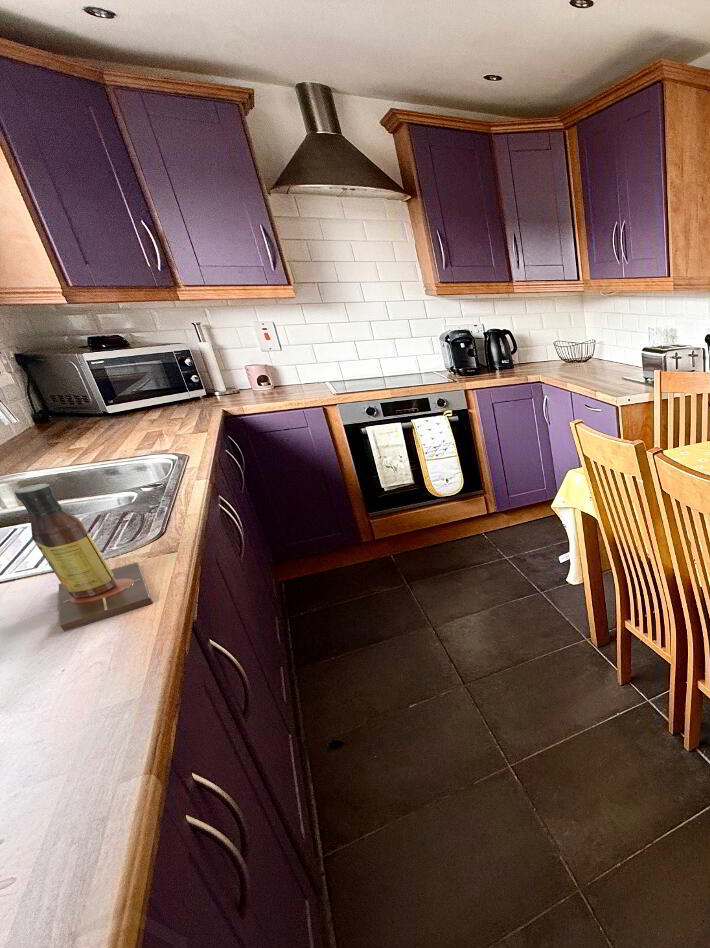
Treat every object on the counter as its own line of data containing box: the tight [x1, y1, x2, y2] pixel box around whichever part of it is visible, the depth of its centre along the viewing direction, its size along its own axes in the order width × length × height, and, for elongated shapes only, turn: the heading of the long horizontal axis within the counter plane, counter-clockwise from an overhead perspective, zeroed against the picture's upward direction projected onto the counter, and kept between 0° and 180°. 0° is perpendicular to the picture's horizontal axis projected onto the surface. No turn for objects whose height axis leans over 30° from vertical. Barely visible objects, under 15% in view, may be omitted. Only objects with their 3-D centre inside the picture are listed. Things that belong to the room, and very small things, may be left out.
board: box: [58, 562, 153, 632], centre depth 104 cm, size 22×11×1 cm, turn 47°
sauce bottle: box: [14, 483, 117, 598], centre depth 99 cm, size 6×6×20 cm
